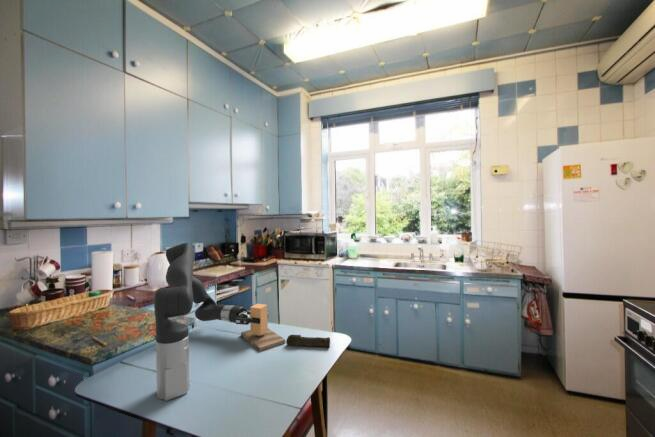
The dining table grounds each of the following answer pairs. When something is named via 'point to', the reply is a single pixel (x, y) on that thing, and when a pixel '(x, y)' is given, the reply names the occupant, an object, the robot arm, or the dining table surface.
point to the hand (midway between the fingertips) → (263, 318)
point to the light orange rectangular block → (261, 313)
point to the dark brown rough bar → (307, 341)
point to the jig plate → (263, 339)
